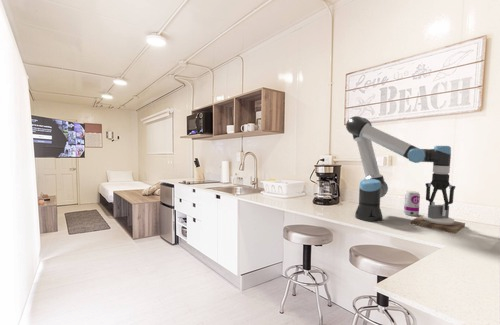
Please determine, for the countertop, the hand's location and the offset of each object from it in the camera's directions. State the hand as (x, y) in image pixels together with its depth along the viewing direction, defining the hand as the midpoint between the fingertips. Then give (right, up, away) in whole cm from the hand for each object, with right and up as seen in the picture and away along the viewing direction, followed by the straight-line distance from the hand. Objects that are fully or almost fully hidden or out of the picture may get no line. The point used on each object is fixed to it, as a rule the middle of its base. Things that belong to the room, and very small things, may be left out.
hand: (438, 214), depth 141 cm
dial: (0, -4, 0) cm, 4 cm away
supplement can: (0, -5, +23) cm, 24 cm away
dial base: (0, -6, 0) cm, 6 cm away
